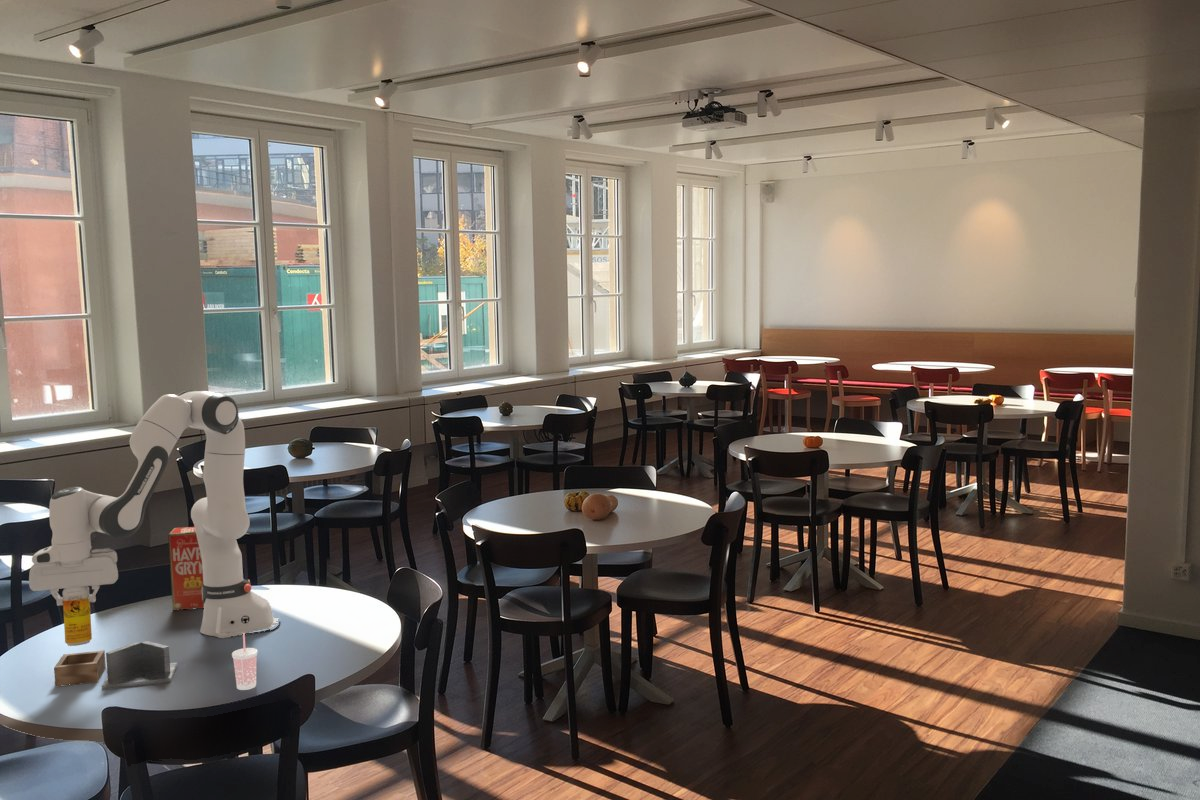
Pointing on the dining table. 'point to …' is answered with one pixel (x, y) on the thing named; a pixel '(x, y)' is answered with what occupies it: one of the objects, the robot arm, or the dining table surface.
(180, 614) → the dining table surface
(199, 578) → the food packaging
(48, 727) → the dining table surface
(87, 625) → the beer can
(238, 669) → the beverage cup
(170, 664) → the V-block
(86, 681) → the walnut sleeve
